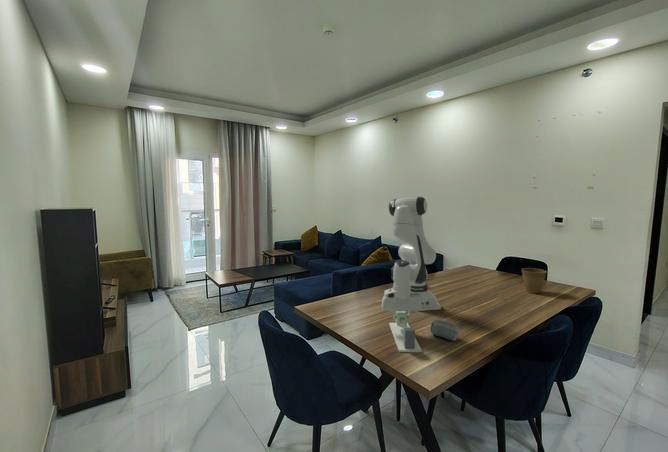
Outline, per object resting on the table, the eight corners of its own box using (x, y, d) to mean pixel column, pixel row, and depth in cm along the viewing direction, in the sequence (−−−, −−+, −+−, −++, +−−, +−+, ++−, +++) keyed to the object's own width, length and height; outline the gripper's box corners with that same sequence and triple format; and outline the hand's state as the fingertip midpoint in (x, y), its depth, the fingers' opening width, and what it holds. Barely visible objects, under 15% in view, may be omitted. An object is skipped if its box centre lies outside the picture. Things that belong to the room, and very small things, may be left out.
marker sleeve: (405, 321, 165) (405, 311, 165) (407, 324, 160) (407, 314, 160) (395, 320, 165) (395, 311, 165) (397, 324, 160) (397, 314, 160)
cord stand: (407, 324, 171) (407, 307, 170) (421, 352, 141) (421, 331, 140) (389, 324, 171) (389, 307, 170) (399, 352, 142) (399, 331, 141)
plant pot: (544, 291, 228) (546, 269, 226) (545, 296, 215) (546, 273, 213) (520, 287, 235) (522, 266, 234) (520, 293, 223) (521, 271, 221)
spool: (424, 329, 157) (433, 312, 157) (432, 332, 164) (441, 315, 164) (447, 345, 147) (457, 327, 147) (455, 348, 153) (465, 330, 154)
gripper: (420, 290, 164) (420, 316, 165) (381, 290, 165) (381, 316, 166) (423, 294, 158) (423, 321, 159) (382, 294, 158) (382, 321, 160)
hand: (401, 318), depth 163 cm, fingers closed on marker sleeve, 5 cm apart
